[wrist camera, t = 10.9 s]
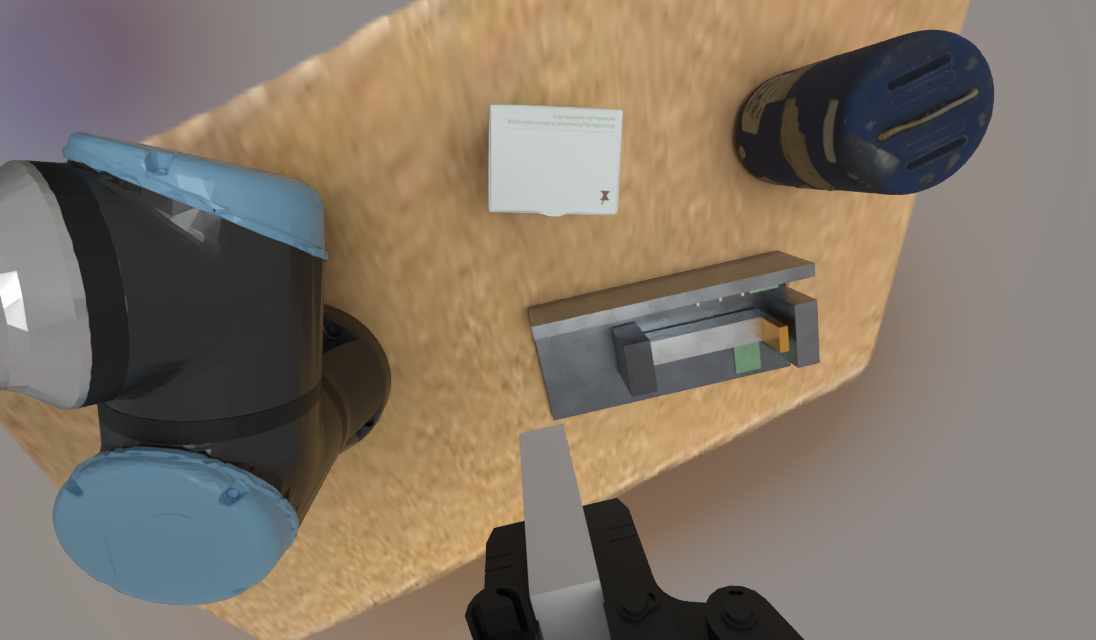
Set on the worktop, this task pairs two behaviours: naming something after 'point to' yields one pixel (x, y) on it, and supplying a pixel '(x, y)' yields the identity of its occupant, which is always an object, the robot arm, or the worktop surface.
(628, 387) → the capped sliding bar
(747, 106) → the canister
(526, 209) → the skincare box
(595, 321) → the rail
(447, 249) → the worktop surface
